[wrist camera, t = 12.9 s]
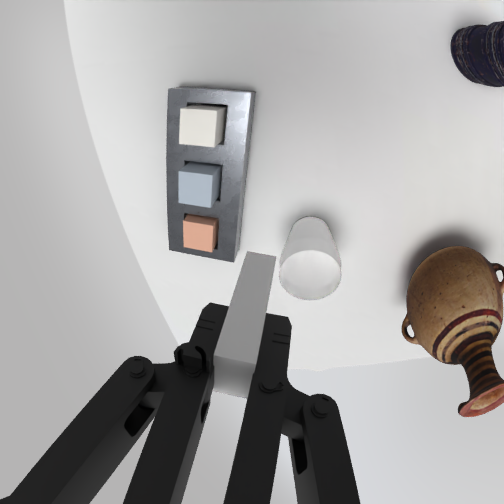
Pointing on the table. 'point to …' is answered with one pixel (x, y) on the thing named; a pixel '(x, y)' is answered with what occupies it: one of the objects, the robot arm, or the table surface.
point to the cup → (310, 261)
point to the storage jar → (480, 53)
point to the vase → (459, 319)
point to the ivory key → (202, 125)
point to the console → (225, 153)
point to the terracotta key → (200, 232)
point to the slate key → (199, 183)
